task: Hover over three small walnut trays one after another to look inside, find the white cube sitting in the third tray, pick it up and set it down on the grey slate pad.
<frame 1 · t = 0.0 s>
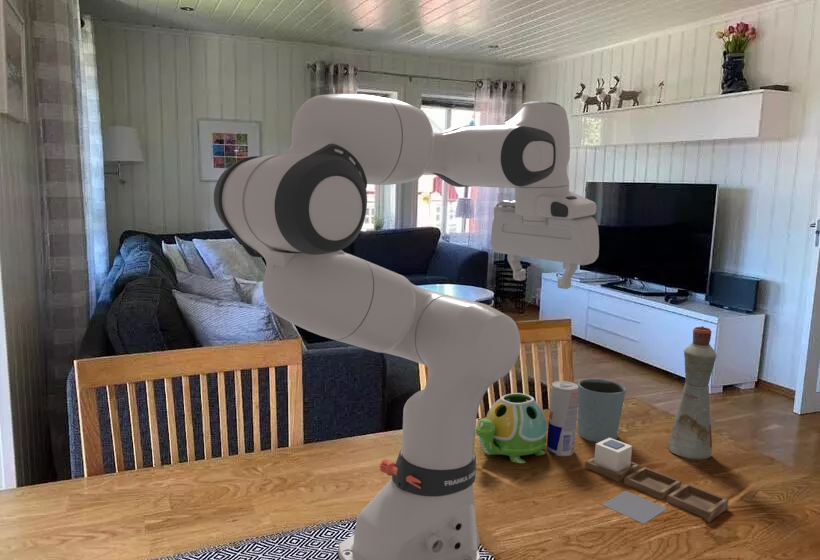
hand: (541, 283, 109), 39 cm above the table, tool pointing down, fingers open, 8 cm apart
tray c: (611, 471, 125), on the table
white cube: (611, 468, 125), point 1 cm above the table, touching tray c
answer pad: (633, 509, 111), on the table
blue-grey plant pot: (597, 437, 142), on the table
tray a: (696, 506, 113), on the table
tray b: (651, 488, 119), on the table
turtle holder: (509, 455, 132), on the table
beverage can: (559, 453, 133), on the table
bottle: (688, 454, 135), on the table
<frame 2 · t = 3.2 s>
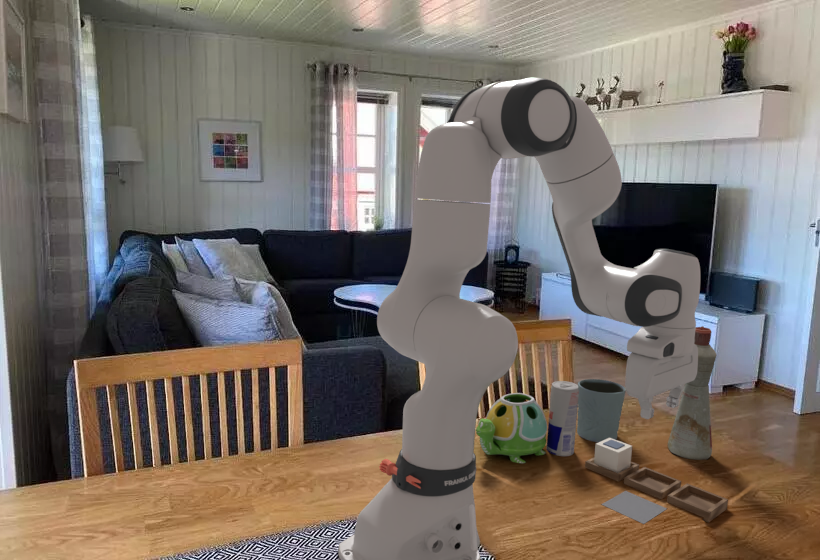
hand: (659, 411, 117), 15 cm above the table, tool pointing down, fingers open, 8 cm apart
nothing on the table moved.
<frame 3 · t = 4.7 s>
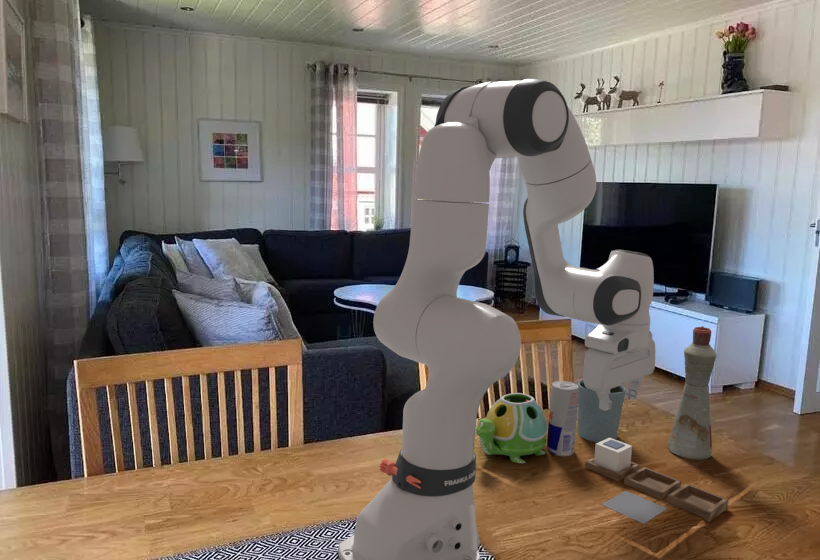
hand: (618, 403, 123), 14 cm above the table, tool pointing down, fingers open, 8 cm apart
nothing on the table moved.
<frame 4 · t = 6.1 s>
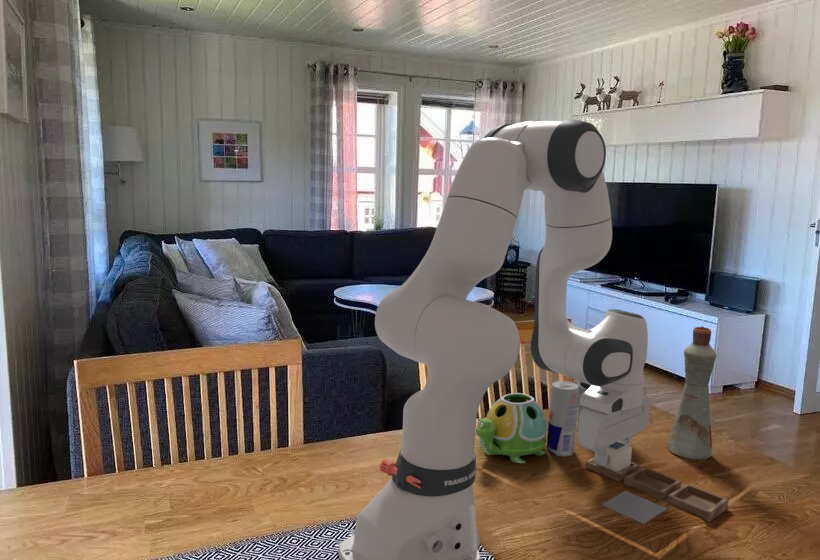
hand: (612, 459, 125), 3 cm above the table, tool pointing down, fingers closed on white cube, 5 cm apart
white cube: (611, 468, 125), point 1 cm above the table, touching gripper, tray c
everything else where it was.
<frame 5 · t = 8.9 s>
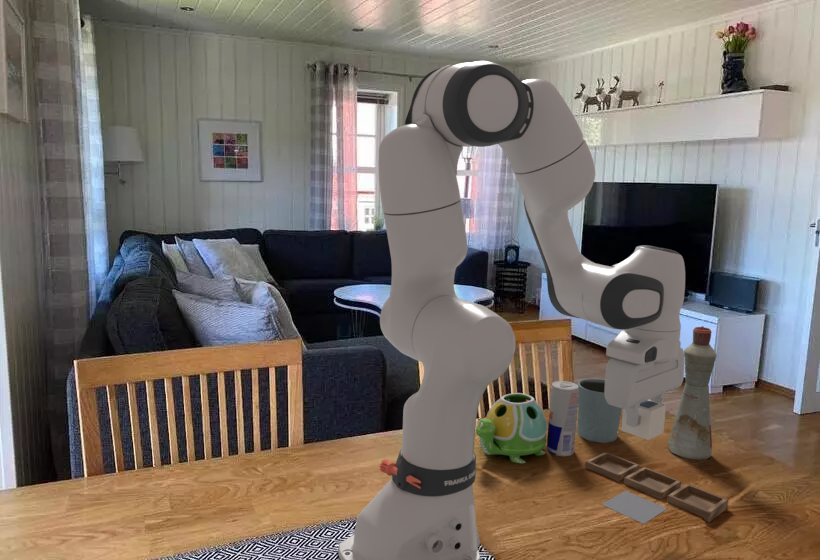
hand: (642, 420, 108), 16 cm above the table, tool pointing down, fingers closed on white cube, 5 cm apart
white cube: (642, 431, 109), point 14 cm above the table, touching gripper
everything else where it was.
when the fingers open (4 cm above the table, at t = 11.5 s): white cube drops 1 cm, resting on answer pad.
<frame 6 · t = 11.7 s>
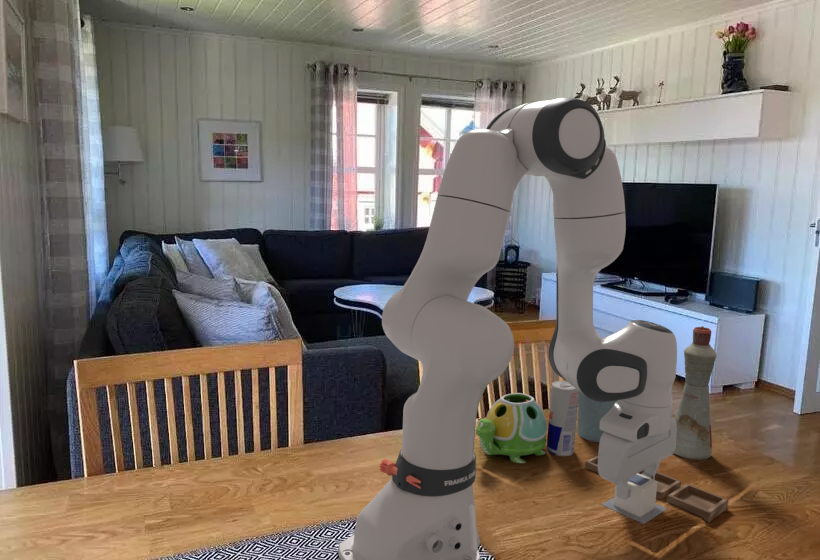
hand: (635, 490, 110), 4 cm above the table, tool pointing down, fingers open, 7 cm apart
white cube: (634, 506, 111), point 1 cm above the table, touching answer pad
everything else where it was.
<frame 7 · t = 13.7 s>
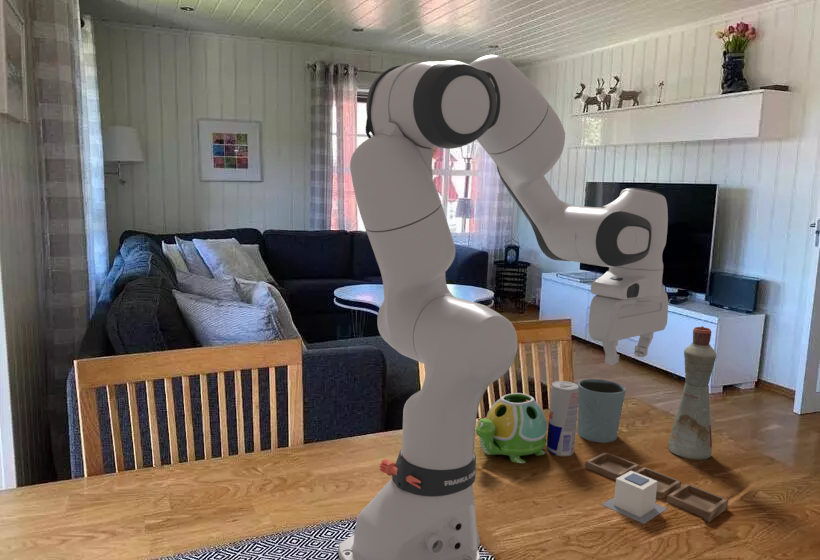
hand: (626, 360, 113), 25 cm above the table, tool pointing down, fingers open, 8 cm apart
nothing on the table moved.
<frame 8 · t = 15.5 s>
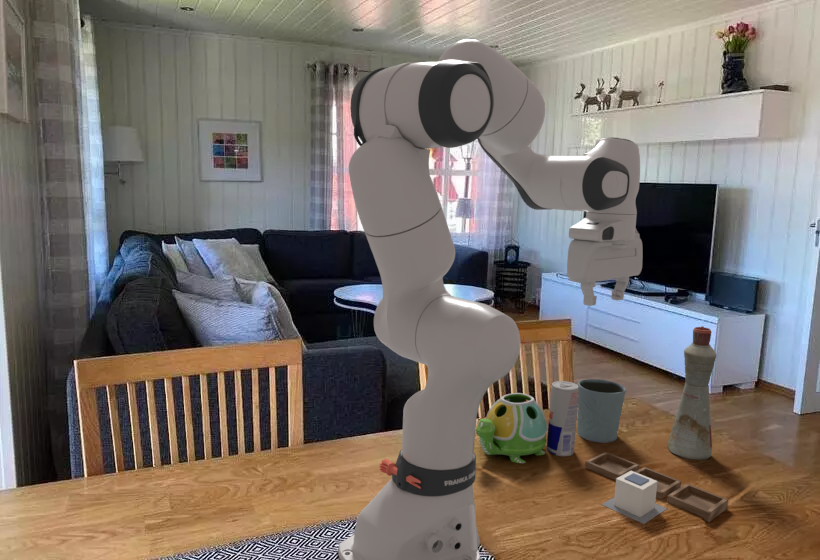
hand: (603, 302, 119), 34 cm above the table, tool pointing down, fingers open, 8 cm apart
nothing on the table moved.
at the end: white cube inside the target area on the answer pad (0.0 cm from its centre), point 0.6 cm above the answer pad's base; the gripper is holding nothing; white cube tilted 0° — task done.
